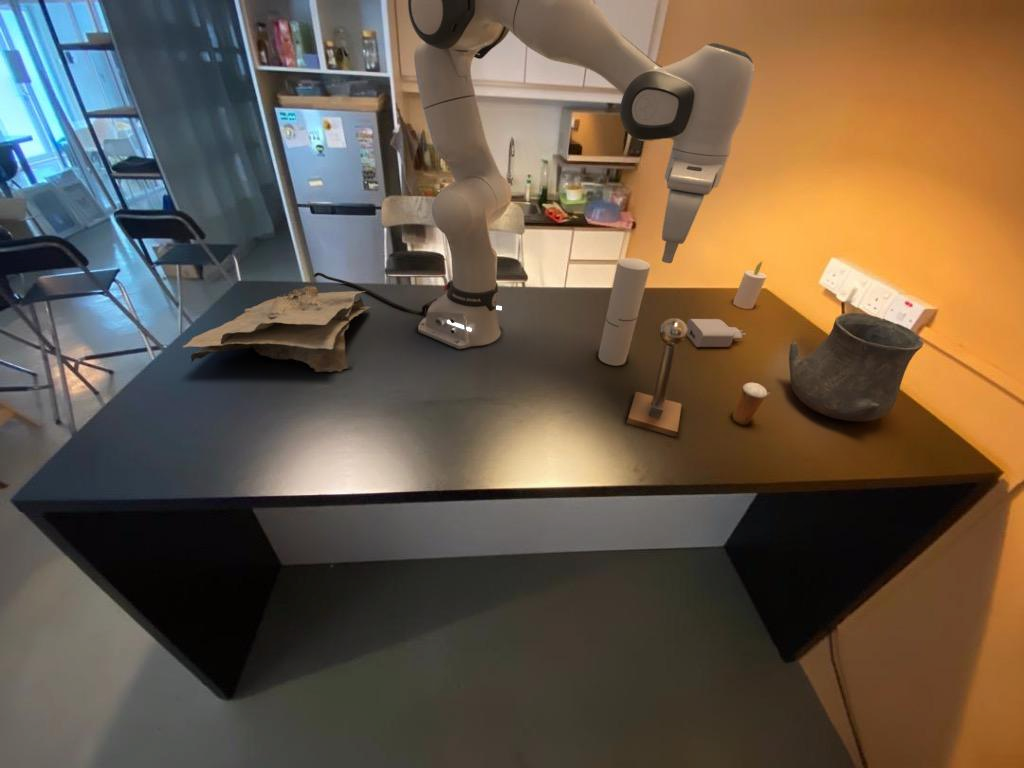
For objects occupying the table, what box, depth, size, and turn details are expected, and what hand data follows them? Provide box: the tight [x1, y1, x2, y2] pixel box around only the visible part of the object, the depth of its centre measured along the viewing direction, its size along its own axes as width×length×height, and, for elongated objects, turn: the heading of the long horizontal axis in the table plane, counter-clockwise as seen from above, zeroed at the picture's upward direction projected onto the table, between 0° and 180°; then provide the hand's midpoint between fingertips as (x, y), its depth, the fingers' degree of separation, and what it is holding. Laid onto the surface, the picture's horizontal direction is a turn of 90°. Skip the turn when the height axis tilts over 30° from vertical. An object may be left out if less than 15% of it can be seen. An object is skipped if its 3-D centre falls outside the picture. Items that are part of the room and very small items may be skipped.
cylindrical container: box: [597, 257, 651, 366], centre depth 102 cm, size 7×7×25 cm
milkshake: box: [732, 381, 776, 425], centre depth 89 cm, size 4×5×10 cm
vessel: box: [788, 312, 925, 422], centre depth 92 cm, size 22×22×20 cm
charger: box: [686, 318, 747, 348], centre depth 118 cm, size 5×9×15 cm
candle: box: [732, 260, 767, 310], centre depth 136 cm, size 6×6×15 cm
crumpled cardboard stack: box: [182, 285, 370, 373], centre depth 105 cm, size 35×16×32 cm
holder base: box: [626, 391, 682, 438], centre depth 90 cm, size 10×10×4 cm
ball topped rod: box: [652, 317, 688, 408], centre depth 84 cm, size 21×5×5 cm
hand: (669, 253), depth 78 cm, fingers open, 8 cm apart
